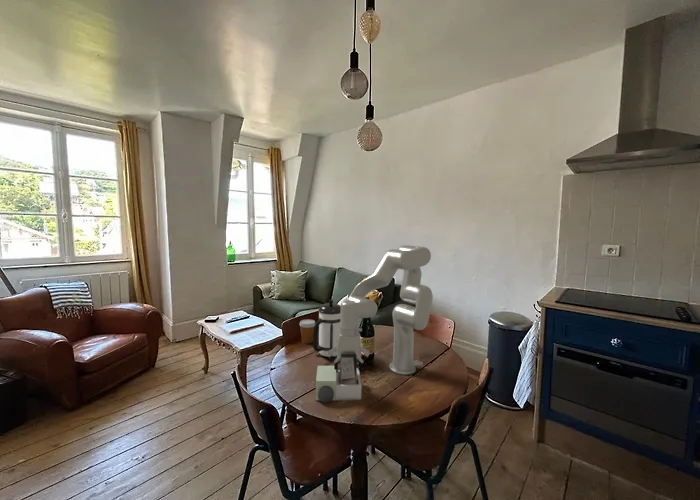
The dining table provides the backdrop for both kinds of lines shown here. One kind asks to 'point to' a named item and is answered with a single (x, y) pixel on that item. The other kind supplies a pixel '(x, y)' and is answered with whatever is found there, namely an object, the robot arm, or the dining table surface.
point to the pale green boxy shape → (335, 386)
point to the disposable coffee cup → (307, 330)
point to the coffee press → (327, 328)
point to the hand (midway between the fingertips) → (348, 371)
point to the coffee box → (348, 369)
